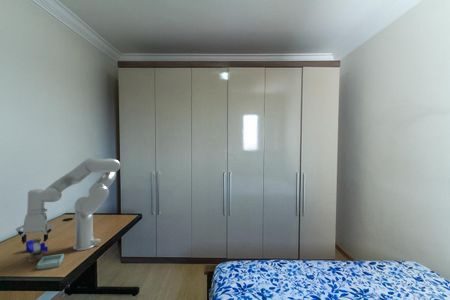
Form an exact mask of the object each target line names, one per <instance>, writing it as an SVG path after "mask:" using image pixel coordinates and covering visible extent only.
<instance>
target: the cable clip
mask: <svg viewBox="0 0 450 300" xmlns="http://www.w3.org/2000/svg"><path fill="white" fill-rule="evenodd" d="M33 240H34V239H31V240H26V242H25V244H26V245H25V250H26V252H28V253H30V254H31V253H32V252H34V243H33ZM40 251H45V253H47V252H48V251H49V250H48V246H47V245H46V243H45V242H40Z"/></svg>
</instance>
